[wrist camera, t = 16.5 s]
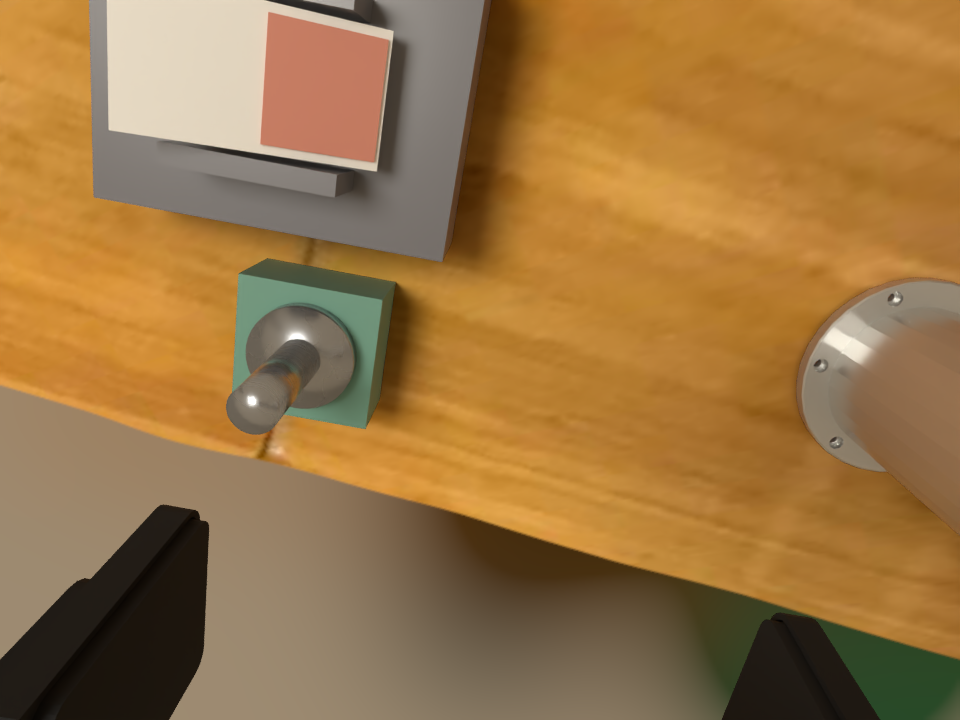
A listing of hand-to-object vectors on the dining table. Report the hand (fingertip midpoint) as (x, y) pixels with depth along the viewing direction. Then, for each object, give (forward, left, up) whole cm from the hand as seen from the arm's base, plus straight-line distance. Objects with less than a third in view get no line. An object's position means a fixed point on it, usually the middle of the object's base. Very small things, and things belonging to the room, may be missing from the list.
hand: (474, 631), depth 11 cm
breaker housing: (+12, -8, -30) cm, 34 cm away
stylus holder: (+10, +6, -30) cm, 32 cm away
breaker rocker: (+12, -8, -21) cm, 26 cm away
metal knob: (+10, +6, -30) cm, 32 cm away
